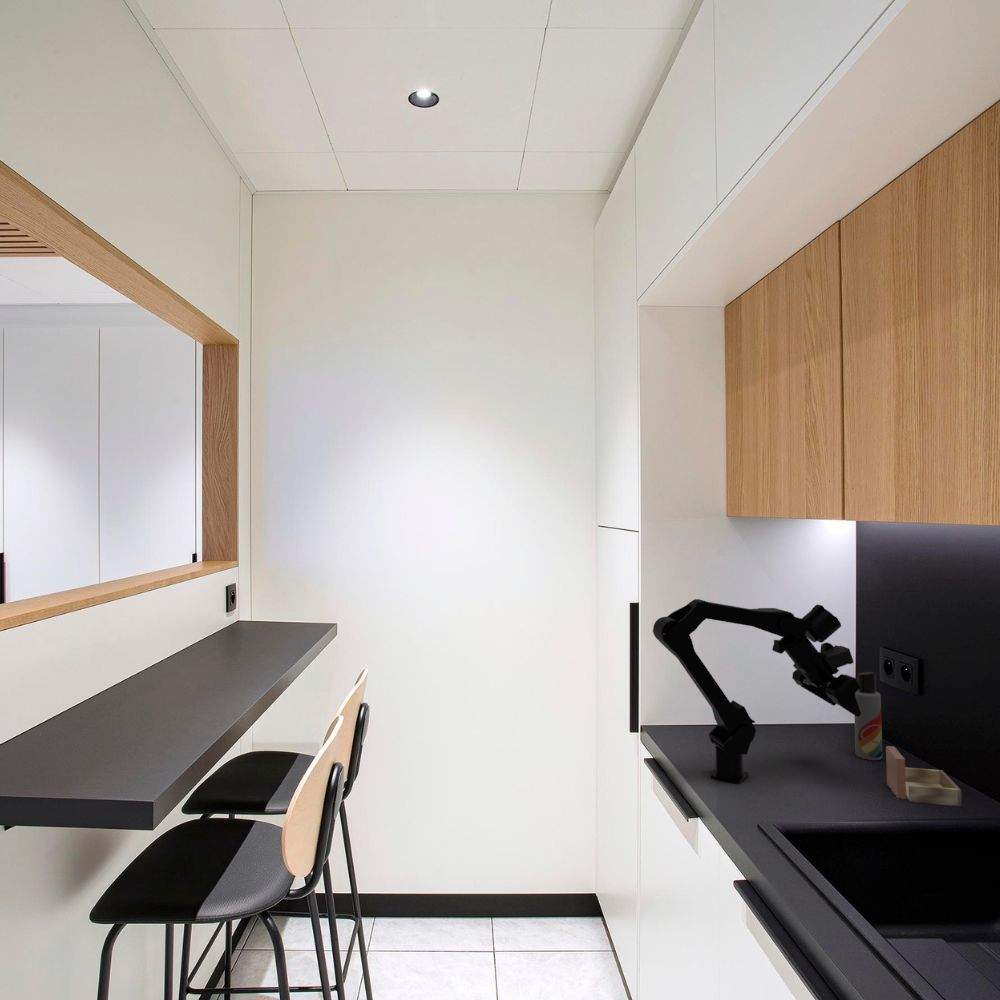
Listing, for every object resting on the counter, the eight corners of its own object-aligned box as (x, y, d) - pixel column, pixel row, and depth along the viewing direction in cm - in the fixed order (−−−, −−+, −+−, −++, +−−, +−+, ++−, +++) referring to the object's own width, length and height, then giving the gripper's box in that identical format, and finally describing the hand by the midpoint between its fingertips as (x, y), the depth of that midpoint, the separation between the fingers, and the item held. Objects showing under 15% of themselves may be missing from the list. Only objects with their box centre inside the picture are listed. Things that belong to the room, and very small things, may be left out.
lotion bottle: (882, 762, 161) (879, 675, 161) (854, 758, 164) (852, 673, 164) (883, 755, 166) (880, 670, 166) (856, 751, 169) (854, 668, 169)
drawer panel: (897, 798, 140) (896, 758, 141) (887, 783, 148) (885, 746, 148) (906, 799, 140) (904, 759, 140) (895, 784, 148) (894, 746, 148)
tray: (910, 802, 138) (909, 785, 138) (894, 781, 149) (894, 766, 149) (961, 806, 136) (961, 790, 136) (942, 785, 147) (941, 770, 147)
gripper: (856, 640, 147) (900, 697, 147) (809, 626, 166) (848, 677, 166) (817, 673, 146) (862, 731, 146) (774, 656, 165) (814, 707, 165)
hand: (846, 709), depth 156 cm, fingers open, 9 cm apart
